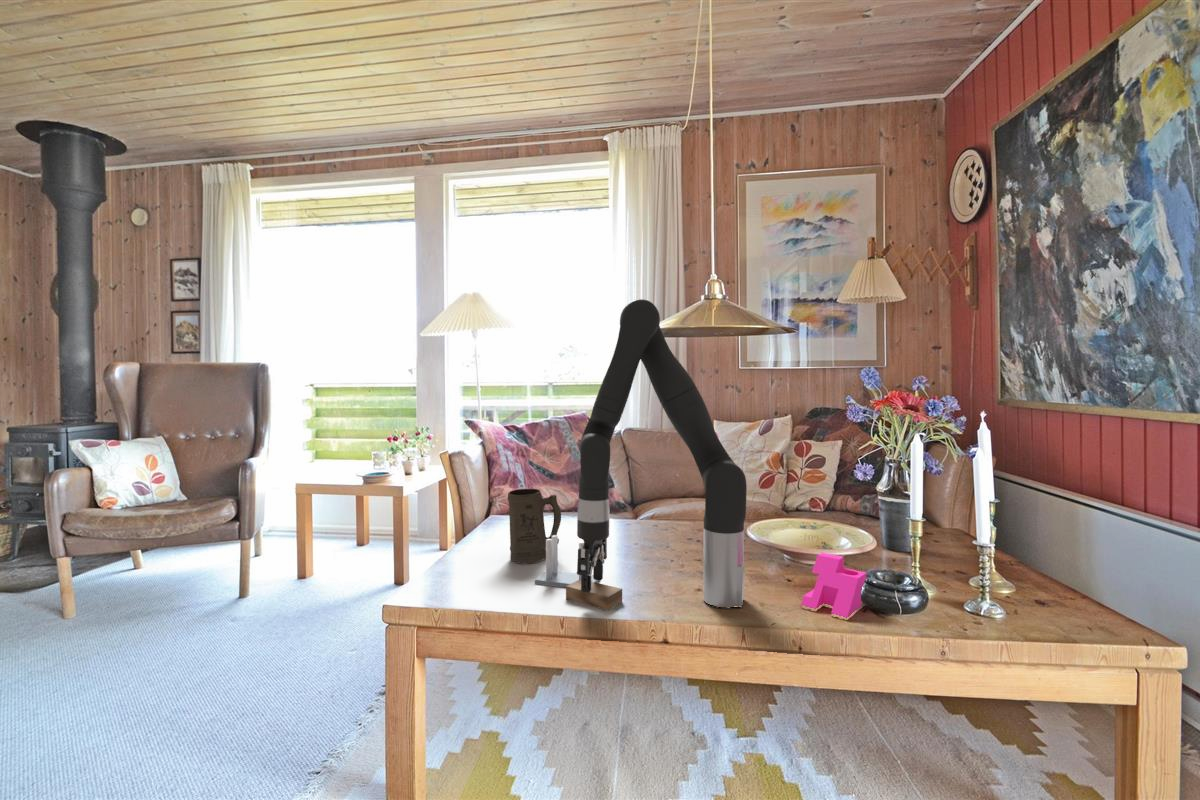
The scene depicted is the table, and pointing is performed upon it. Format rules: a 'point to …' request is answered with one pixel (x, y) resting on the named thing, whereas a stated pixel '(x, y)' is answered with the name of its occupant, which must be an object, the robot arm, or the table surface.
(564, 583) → the peg stand
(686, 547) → the table surface
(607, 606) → the brown wooden block
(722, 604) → the robot arm
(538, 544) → the beer stein
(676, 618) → the table surface
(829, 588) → the pink dog planter
